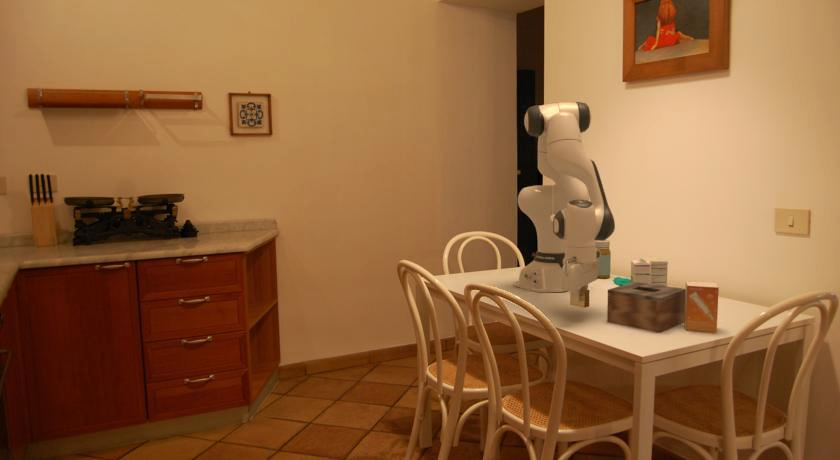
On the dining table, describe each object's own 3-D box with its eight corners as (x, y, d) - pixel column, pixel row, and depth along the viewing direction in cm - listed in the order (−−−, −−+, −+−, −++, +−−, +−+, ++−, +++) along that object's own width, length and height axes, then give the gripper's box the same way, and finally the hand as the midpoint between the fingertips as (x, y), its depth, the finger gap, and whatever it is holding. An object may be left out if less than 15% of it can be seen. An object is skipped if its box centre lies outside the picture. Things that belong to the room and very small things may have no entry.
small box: (685, 330, 163) (686, 285, 162) (683, 325, 169) (685, 280, 168) (717, 333, 160) (719, 287, 159) (714, 327, 166) (716, 282, 165)
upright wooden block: (570, 304, 176) (570, 288, 176) (574, 303, 178) (575, 287, 177) (584, 307, 172) (584, 291, 172) (589, 306, 174) (589, 290, 173)
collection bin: (607, 322, 173) (607, 289, 172) (633, 312, 184) (634, 281, 182) (659, 333, 161) (660, 298, 160) (685, 322, 172) (686, 289, 171)
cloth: (651, 294, 211) (651, 288, 211) (611, 292, 215) (611, 286, 215) (645, 280, 236) (645, 274, 236) (609, 279, 240) (609, 273, 240)
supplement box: (638, 291, 213) (639, 257, 211) (659, 291, 212) (660, 257, 211) (646, 296, 205) (646, 261, 204) (667, 296, 205) (668, 260, 204)
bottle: (593, 278, 239) (594, 242, 237) (591, 275, 246) (592, 239, 244) (611, 278, 238) (612, 242, 236) (608, 275, 244) (609, 239, 243)
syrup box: (651, 306, 191) (652, 262, 190) (632, 305, 192) (633, 262, 191) (648, 302, 197) (649, 260, 195) (629, 301, 198) (630, 259, 196)
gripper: (576, 261, 163) (575, 309, 165) (602, 251, 179) (602, 294, 181) (555, 259, 167) (555, 306, 169) (583, 249, 183) (582, 292, 185)
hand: (579, 300), depth 175 cm, fingers closed on upright wooden block, 3 cm apart
